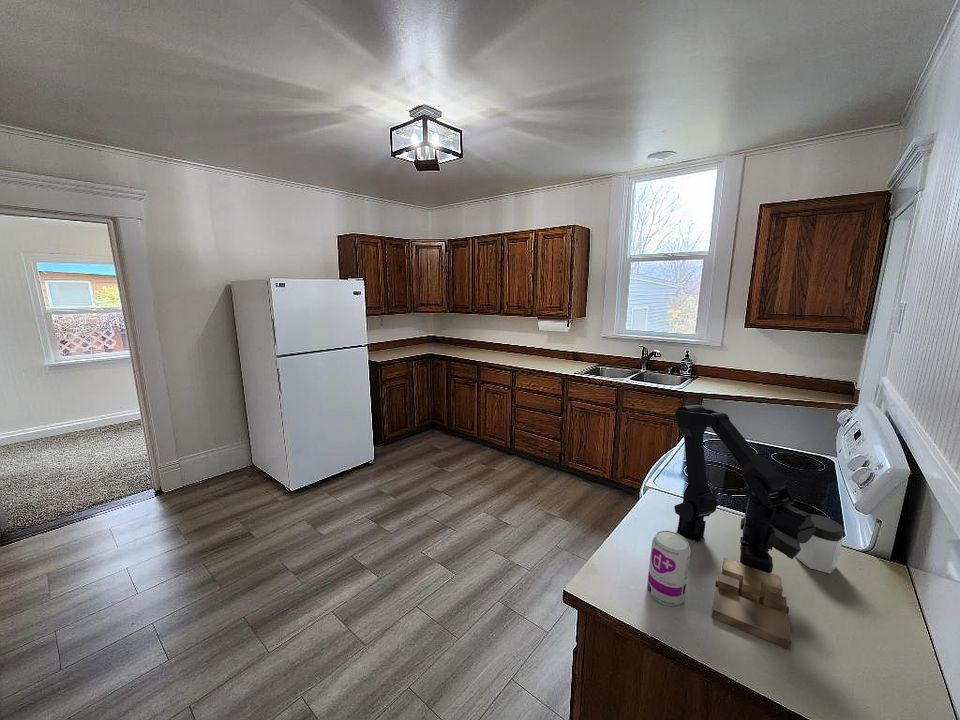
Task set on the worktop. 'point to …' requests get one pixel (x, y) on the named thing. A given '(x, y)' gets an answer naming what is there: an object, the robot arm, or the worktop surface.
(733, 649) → the worktop surface
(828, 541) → the jar
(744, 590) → the tan block
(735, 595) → the fixed leaf
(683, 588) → the supplement can
